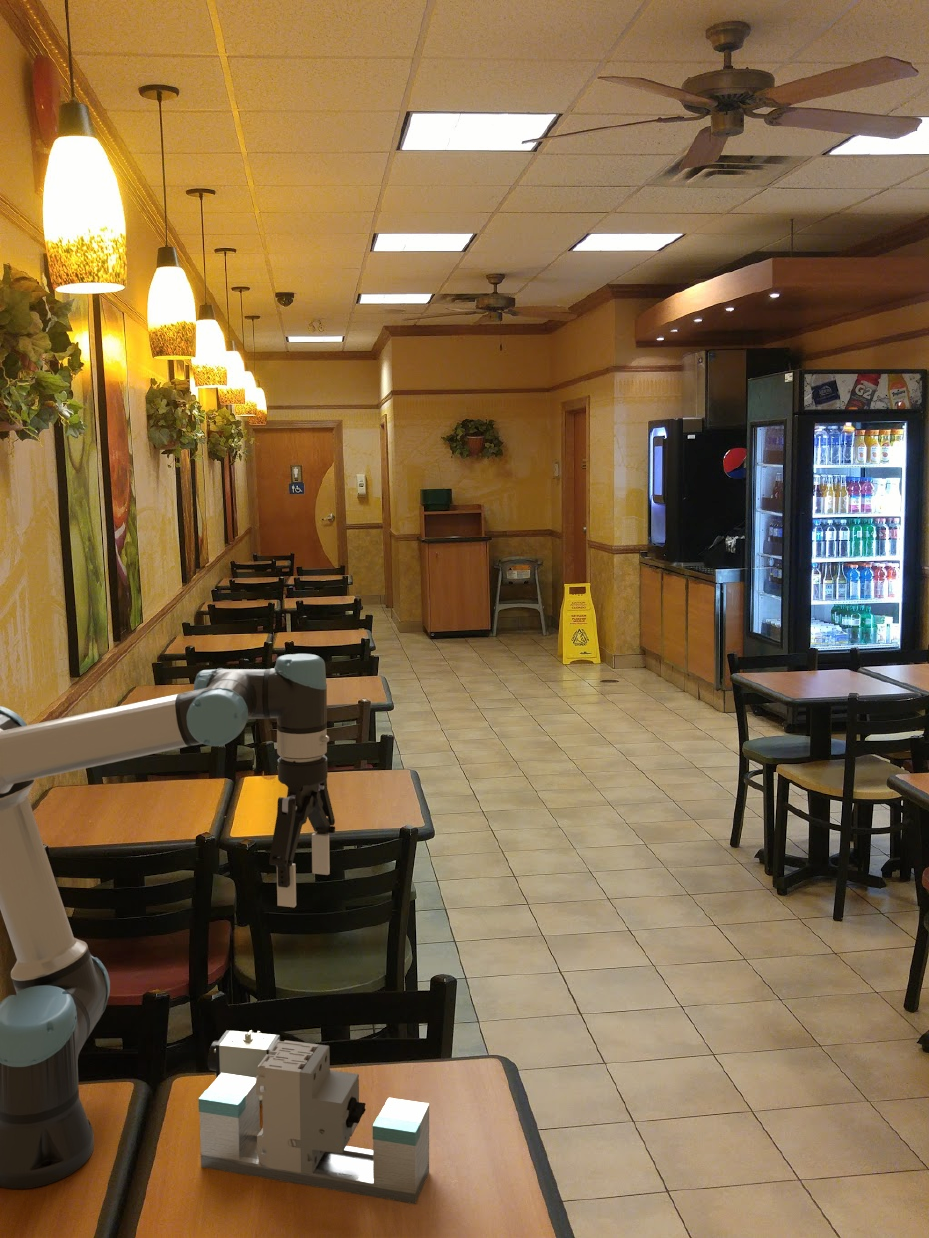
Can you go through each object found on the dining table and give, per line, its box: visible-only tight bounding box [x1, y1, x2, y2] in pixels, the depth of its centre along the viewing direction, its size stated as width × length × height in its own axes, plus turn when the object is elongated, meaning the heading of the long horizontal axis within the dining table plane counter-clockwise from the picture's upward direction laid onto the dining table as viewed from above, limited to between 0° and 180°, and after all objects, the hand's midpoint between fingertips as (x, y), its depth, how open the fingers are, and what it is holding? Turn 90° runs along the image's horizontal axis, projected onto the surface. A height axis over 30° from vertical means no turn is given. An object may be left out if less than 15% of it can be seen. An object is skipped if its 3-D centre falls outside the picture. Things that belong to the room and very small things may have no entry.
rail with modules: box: [198, 1073, 430, 1205], centre depth 154 cm, size 32×7×11 cm, turn 76°
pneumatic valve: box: [207, 1029, 281, 1105], centre depth 171 cm, size 6×12×12 cm, turn 81°
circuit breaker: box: [256, 1039, 367, 1174], centre depth 154 cm, size 8×14×15 cm, turn 78°
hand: (304, 889), depth 168 cm, fingers open, 13 cm apart
